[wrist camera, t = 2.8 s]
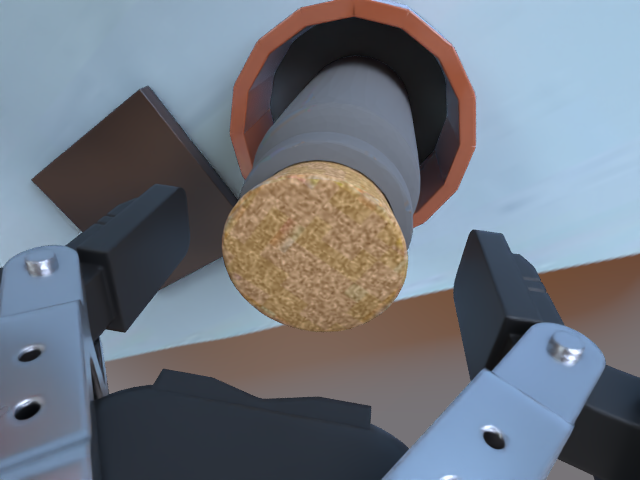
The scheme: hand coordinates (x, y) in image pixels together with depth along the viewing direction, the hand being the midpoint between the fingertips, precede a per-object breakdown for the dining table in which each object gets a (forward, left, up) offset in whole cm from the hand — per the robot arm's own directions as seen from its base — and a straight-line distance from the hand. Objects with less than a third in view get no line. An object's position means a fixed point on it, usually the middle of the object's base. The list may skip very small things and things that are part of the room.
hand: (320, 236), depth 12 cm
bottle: (0, 0, -14) cm, 14 cm away
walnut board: (-2, -15, -13) cm, 20 cm away
